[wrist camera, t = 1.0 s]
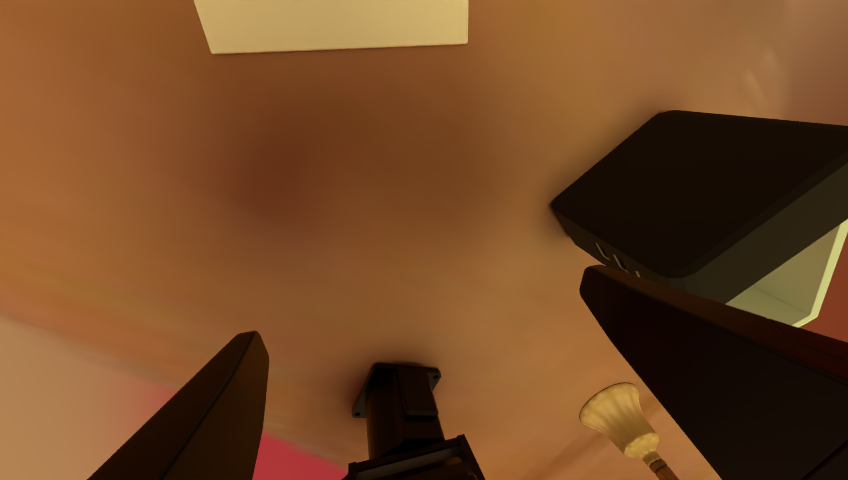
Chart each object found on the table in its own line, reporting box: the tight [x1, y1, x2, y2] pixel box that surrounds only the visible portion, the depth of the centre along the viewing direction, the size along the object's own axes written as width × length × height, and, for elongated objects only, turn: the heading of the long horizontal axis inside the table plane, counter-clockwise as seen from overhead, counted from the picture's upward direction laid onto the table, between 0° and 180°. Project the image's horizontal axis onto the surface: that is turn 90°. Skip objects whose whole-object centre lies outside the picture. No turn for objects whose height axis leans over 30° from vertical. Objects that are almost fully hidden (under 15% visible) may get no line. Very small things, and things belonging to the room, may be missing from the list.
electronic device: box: [552, 110, 848, 304], centre depth 18 cm, size 4×10×10 cm, turn 130°
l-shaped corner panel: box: [726, 219, 848, 328], centre depth 26 cm, size 12×12×8 cm
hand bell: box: [580, 383, 679, 480], centre depth 32 cm, size 8×8×16 cm
